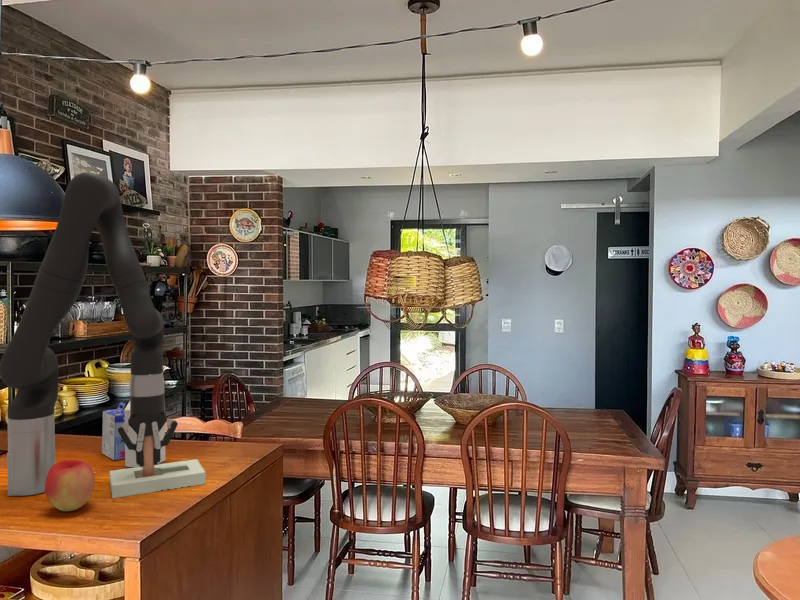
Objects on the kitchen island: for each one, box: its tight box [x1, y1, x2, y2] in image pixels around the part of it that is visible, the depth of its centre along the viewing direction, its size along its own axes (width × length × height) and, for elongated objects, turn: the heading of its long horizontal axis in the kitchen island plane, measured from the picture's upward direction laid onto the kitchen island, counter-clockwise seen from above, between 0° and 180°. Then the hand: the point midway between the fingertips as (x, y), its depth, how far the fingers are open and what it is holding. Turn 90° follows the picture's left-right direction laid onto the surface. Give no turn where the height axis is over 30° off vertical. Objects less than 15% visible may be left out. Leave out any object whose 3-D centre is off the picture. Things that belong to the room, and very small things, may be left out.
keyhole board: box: [109, 458, 207, 499], centre depth 143 cm, size 20×12×3 cm, turn 118°
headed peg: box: [139, 435, 157, 478], centre depth 142 cm, size 5×5×11 cm
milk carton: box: [124, 400, 166, 468], centre depth 158 cm, size 7×7×19 cm
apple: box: [44, 459, 96, 512], centre depth 126 cm, size 10×10×10 cm
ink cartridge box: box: [101, 401, 127, 461], centre depth 166 cm, size 10×6×14 cm, turn 44°
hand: (148, 464), depth 142 cm, fingers closed on headed peg, 2 cm apart
